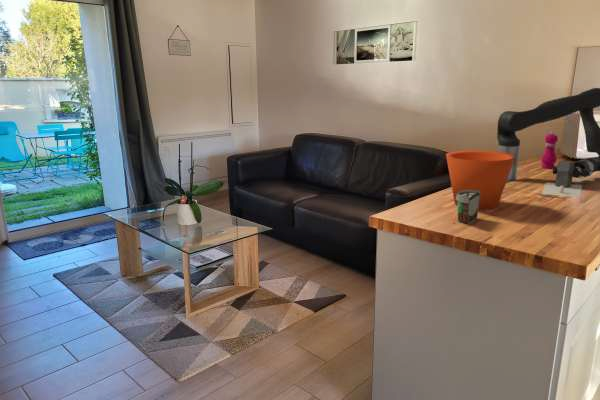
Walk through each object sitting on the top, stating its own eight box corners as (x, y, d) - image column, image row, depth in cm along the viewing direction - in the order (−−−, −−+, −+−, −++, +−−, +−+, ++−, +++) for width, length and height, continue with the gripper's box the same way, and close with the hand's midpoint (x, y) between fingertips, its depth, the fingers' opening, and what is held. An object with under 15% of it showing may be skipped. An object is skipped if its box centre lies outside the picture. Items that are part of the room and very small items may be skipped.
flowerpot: (489, 217, 159) (494, 163, 154) (430, 204, 178) (433, 155, 173) (521, 204, 174) (527, 154, 169) (464, 193, 193) (467, 148, 188)
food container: (461, 214, 163) (463, 188, 161) (478, 217, 160) (480, 190, 157) (448, 222, 154) (450, 195, 152) (466, 226, 150) (468, 197, 148)
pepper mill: (537, 167, 243) (541, 131, 238) (546, 166, 246) (550, 130, 241) (549, 169, 237) (553, 132, 232) (558, 168, 240) (563, 131, 235)
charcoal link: (566, 188, 192) (569, 163, 189) (555, 186, 196) (558, 161, 193) (571, 186, 195) (574, 161, 192) (560, 184, 198) (563, 160, 196)
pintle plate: (580, 200, 177) (581, 190, 176) (540, 196, 185) (542, 186, 184) (581, 187, 197) (582, 178, 196) (546, 184, 204) (547, 175, 203)
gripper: (565, 158, 207) (548, 162, 198) (599, 162, 196) (582, 167, 187) (563, 174, 209) (546, 179, 200) (597, 178, 198) (580, 184, 189)
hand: (563, 173), depth 193 cm, fingers open, 8 cm apart
